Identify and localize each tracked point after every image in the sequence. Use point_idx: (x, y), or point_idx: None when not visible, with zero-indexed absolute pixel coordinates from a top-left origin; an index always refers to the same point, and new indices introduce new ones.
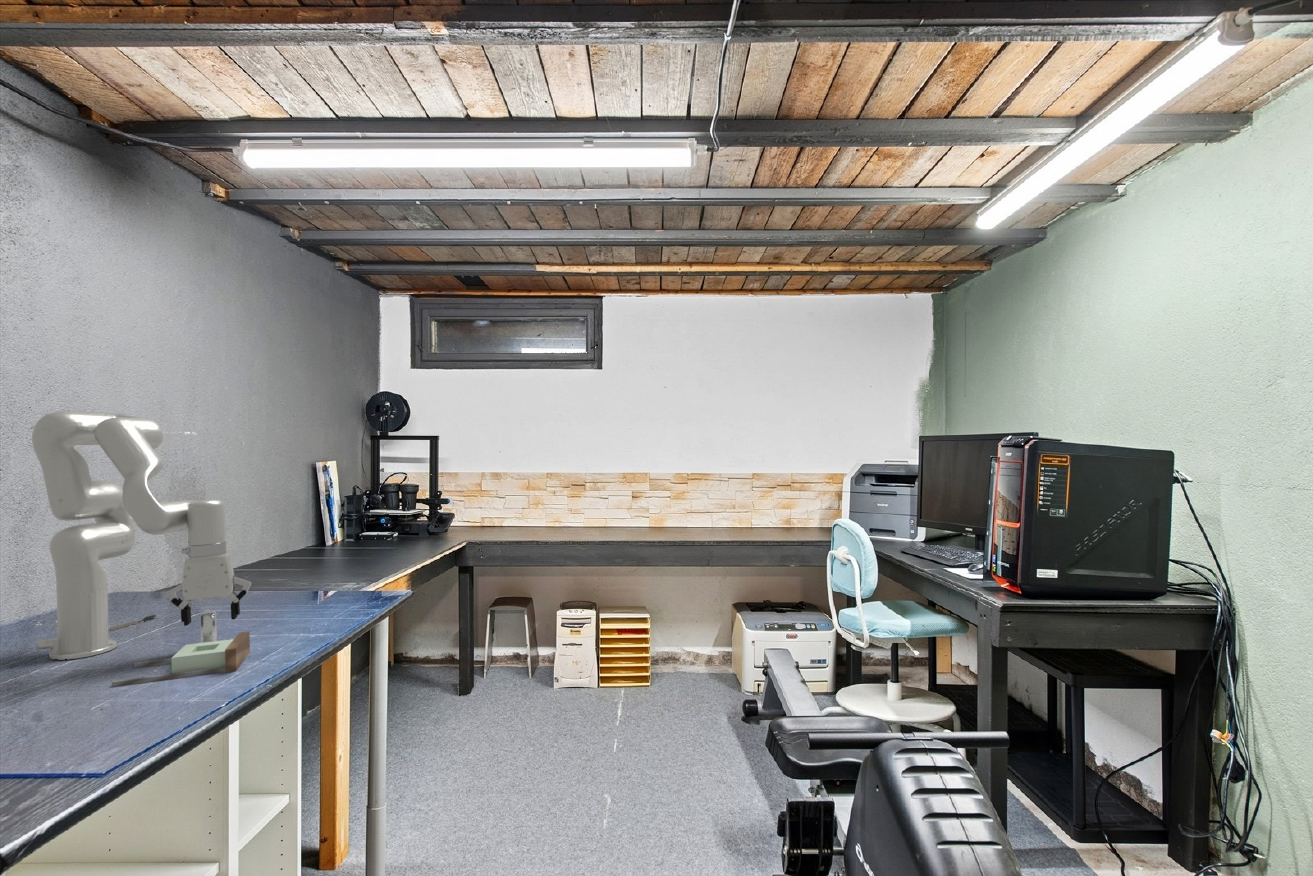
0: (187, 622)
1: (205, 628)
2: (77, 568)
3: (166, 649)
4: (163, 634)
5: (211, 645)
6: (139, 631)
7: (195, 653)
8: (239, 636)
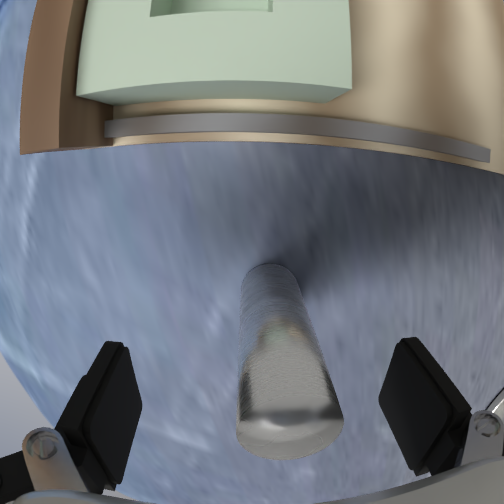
0: (405, 350)
1: (292, 330)
2: None
3: None
4: (395, 483)
5: (193, 13)
6: None
7: None
8: (49, 52)
